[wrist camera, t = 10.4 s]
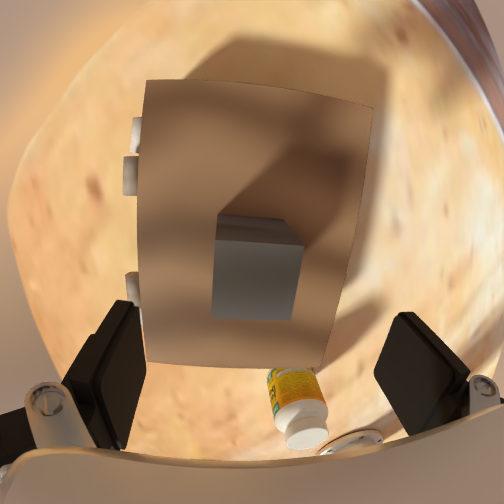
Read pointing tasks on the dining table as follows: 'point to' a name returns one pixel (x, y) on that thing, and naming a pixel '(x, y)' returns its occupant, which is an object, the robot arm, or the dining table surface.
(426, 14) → the dining table surface
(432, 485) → the robot arm
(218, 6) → the dining table surface
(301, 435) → the supplement bottle
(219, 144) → the door
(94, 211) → the dining table surface
